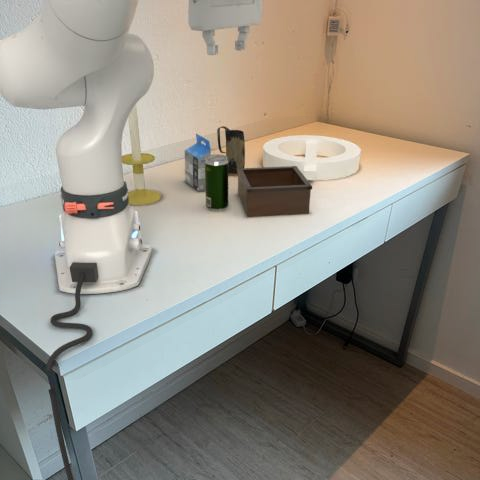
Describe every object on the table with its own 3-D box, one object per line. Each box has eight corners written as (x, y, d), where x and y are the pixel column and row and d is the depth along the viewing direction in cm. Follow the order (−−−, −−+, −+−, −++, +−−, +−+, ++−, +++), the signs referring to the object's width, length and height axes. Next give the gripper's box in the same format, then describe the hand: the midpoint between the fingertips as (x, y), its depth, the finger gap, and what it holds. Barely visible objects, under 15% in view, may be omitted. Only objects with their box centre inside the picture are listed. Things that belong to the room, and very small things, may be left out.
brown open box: (309, 214, 122) (312, 186, 118) (246, 217, 120) (246, 189, 116) (294, 191, 134) (296, 166, 131) (237, 194, 132) (237, 168, 129)
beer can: (216, 213, 122) (215, 162, 115) (201, 207, 125) (199, 157, 118) (233, 207, 125) (233, 157, 118) (217, 201, 128) (217, 152, 122)
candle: (112, 197, 130) (96, 80, 115) (145, 188, 136) (134, 74, 121) (136, 208, 124) (123, 85, 109) (169, 197, 130) (161, 80, 115)
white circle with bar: (311, 145, 170) (312, 130, 167) (378, 167, 152) (381, 150, 149) (243, 161, 156) (243, 145, 153) (308, 187, 137) (310, 169, 135)
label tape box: (184, 181, 140) (182, 134, 134) (198, 179, 142) (196, 132, 135) (198, 192, 134) (196, 143, 127) (212, 189, 136) (211, 141, 129)
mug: (248, 171, 148) (248, 127, 141) (239, 177, 144) (239, 132, 137) (223, 167, 151) (223, 124, 144) (214, 172, 147) (213, 128, 140)
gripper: (204, -26, 94) (206, 59, 102) (268, -27, 108) (266, 49, 116) (178, -27, 97) (182, 56, 105) (243, -27, 111) (243, 46, 119)
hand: (226, 52), depth 110 cm, fingers open, 8 cm apart
